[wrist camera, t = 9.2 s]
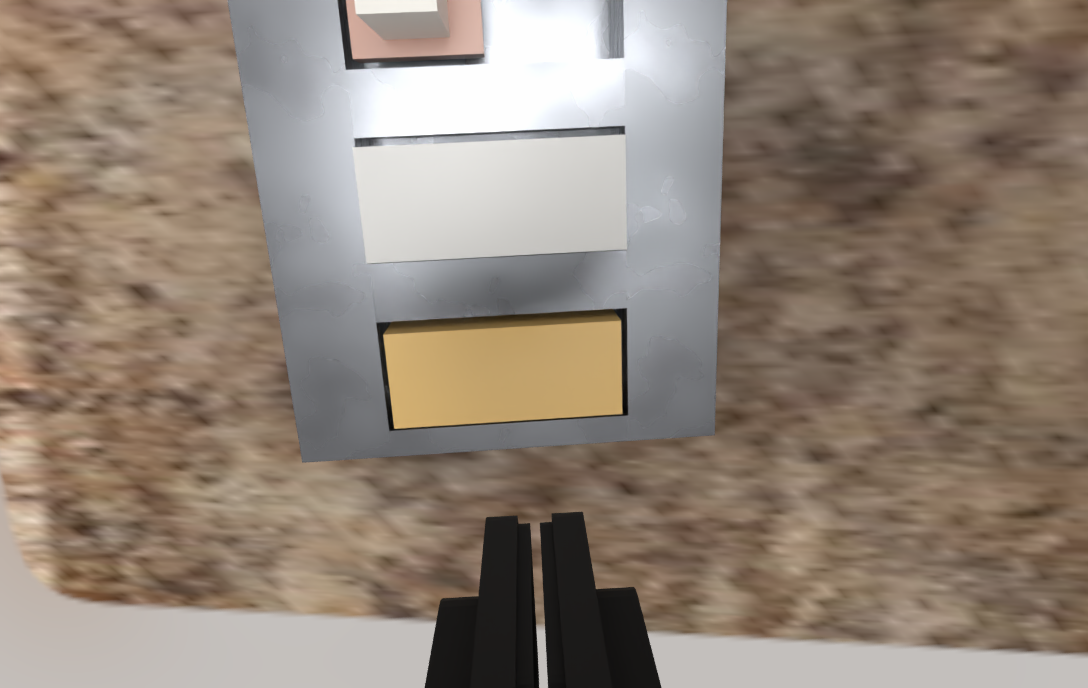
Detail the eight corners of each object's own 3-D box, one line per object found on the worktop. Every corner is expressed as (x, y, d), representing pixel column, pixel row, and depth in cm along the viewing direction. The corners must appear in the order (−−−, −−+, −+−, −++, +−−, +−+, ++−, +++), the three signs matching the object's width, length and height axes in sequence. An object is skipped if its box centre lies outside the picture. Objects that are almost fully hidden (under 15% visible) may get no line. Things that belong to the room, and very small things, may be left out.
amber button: (612, 308, 24) (621, 320, 23) (614, 395, 25) (622, 413, 24) (391, 321, 24) (383, 334, 22) (402, 409, 25) (394, 428, 23)
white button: (615, 135, 21) (625, 134, 20) (617, 241, 22) (626, 249, 21) (364, 147, 21) (352, 147, 19) (377, 254, 22) (366, 263, 20)
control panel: (693, -85, 23) (730, -131, 20) (686, 396, 28) (714, 434, 25) (258, -70, 23) (208, -115, 19) (330, 419, 28) (302, 462, 24)
